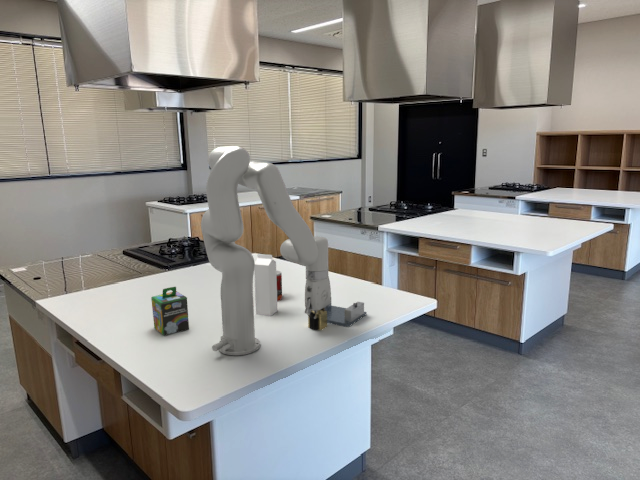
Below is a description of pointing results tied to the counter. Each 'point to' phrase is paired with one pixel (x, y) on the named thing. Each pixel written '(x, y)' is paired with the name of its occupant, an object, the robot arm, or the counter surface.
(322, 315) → the brass block
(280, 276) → the canned food
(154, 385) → the counter surface
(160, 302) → the chalk box
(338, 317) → the vise
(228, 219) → the robot arm
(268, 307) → the milk
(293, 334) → the counter surface
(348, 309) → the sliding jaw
